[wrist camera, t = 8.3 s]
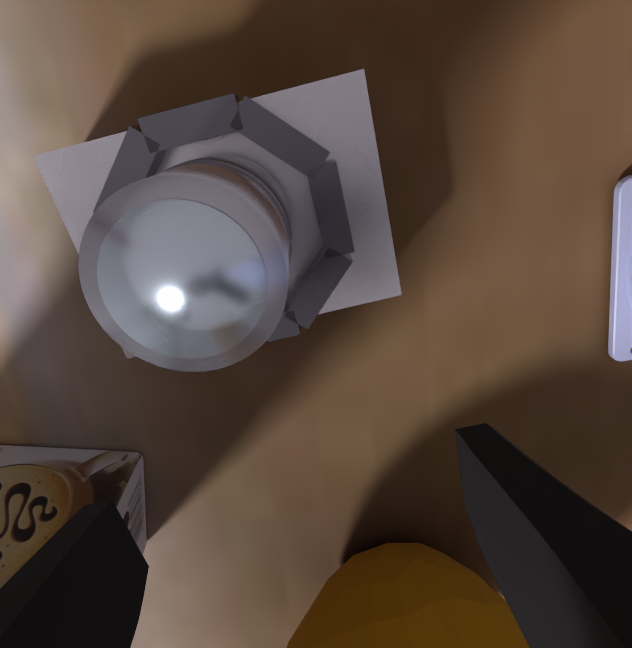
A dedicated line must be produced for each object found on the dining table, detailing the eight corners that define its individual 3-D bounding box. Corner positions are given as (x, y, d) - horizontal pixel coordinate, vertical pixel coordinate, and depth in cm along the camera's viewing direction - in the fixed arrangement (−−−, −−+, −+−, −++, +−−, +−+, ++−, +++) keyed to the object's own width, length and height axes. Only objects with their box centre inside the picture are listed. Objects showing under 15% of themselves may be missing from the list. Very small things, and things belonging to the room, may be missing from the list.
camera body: (351, 74, 15) (368, 57, 12) (386, 273, 18) (409, 309, 15) (76, 146, 16) (10, 152, 12) (152, 328, 19) (118, 376, 15)
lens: (281, 143, 13) (271, 158, 8) (301, 274, 15) (304, 364, 9) (146, 162, 13) (37, 189, 8) (180, 290, 15) (111, 389, 9)
